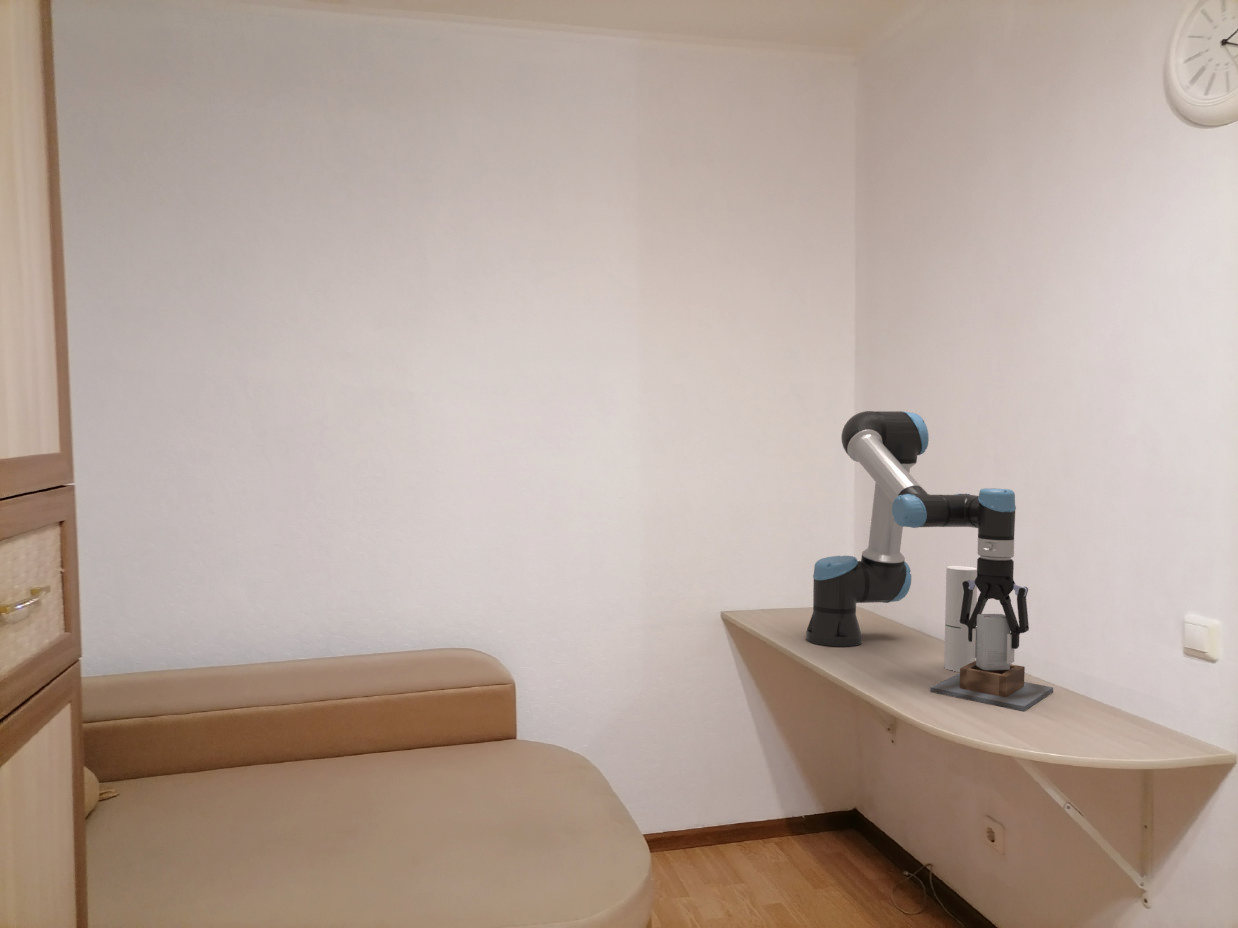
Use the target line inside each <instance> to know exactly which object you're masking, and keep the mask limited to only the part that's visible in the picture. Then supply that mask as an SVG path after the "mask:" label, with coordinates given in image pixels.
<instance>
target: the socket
mask: <svg viewBox="0 0 1238 928" xmlns="http://www.w3.org/2000/svg"><path fill="white" fill-rule="evenodd" d="M1025 670H1026V668H1025V665H1023V666H1022V665H1018V664H1013V663H1011V664H1010V670H983V669H981V668H979V667H977V666H976V660H975V661H974V662H972V663H970V664H968V665H966V666H964V667H962V668H960V672H957V674H955V675H953V676H951V677H949V678H946V679H945V680H943V681H940V682H938V683H937V684H934V685H932V686H931V687H930V689H929V691H931V692H930V693H934V692H937V693H936V694H939V693H940V695H943V694H946V695H945V696H948V695H949V696H948V697H953V696H955V698H959V699H962V700H968V699H969V701H973V702H976V703H977V702H979V703H982V704H983V703H984V704H987V705H988V704H989V705H992V706H997V707H1003V708H1006V709H1012V710H1016V711H1021V712H1025V711H1027V710H1028V709H1030V708H1031V707H1032V706H1034V705H1036V704H1038V703H1039V702H1040V701H1041V700H1043V699H1045V698H1046V697H1048V696H1049V695H1050V694H1052V693H1053V692H1054V687H1053V686H1048V685H1043V684H1038V683H1037V684H1036V683H1032V682H1028V681H1025V675H1026V674H1025Z"/></svg>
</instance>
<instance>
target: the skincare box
mask: <svg viewBox="0 0 1238 928" xmlns="http://www.w3.org/2000/svg"><path fill="white" fill-rule="evenodd" d="M976 627H977V639H976V658H975V661H976V666H977V667H979V668H981V669H983V670H1010V664H1007V634H1009V633H1011V631H1010V628H1009V625H1008V622H1007V619H1006V616H1005V613H1004V614H1003V613H982V614H978V615H977V626H976Z"/></svg>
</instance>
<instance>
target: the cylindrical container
mask: <svg viewBox="0 0 1238 928" xmlns="http://www.w3.org/2000/svg"><path fill="white" fill-rule="evenodd" d="M945 572H946V573H945V574H946V575H945V576H946V577H945V579H946V580H945V611H944V612H945V614H944V615H945V617H944V619H945V620H944V621H945V622H944V623H945V624H944V651H943V655H944V656H943V658H944V659H943V668H944V667H945V668H944V669H945V670H947V669H948V670H947V671H950V670H953V671H952V672H954V671H956V673H960V668H962V667H964V666H966V665H968V664H970V663H972V662H974V661H976V658H972V642H969V640H968V627H967V626H966V625H964V624H961V623H960V616H961V609H962V602H963V595H964V589H963V584H962V583H963V582H964V581H967V580H970V581H973V580H975V579H976V577H977V567H972V566H966V565H964V566H963V565H950V566H949V565H948V566H946V571H945ZM977 601H978V588H977V586H976V585H975V588H974V589H973V596H972V603H971V610H970V617H969V619H970V618H971V615H972V613H973V611H974V608H975V606H976V604H977Z"/></svg>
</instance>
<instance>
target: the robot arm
mask: <svg viewBox="0 0 1238 928" xmlns="http://www.w3.org/2000/svg"><path fill="white" fill-rule="evenodd" d="M929 438H930V437H929V430H928V425H927V424H926V423H925V420H924V418H923V417H922V416H921V415H919V414H917V412H910V411H909V412H908V411H902V410H901V411H899V410H897V411H894V410H892V411H890V410H889V411H888V410H887V411H885V410H883V411H881V410H879V411H873V410H865V411H862V412H858V413H855V414H854V415H852V416H851V417H850V418H849V419H848V420H847V422H846V423H845V424H844V427H843V428H842V431H841V439H840V440H841V445H842V448H843V450H844V451H845V453H846V454H847V456H848V457H849V458H850V459H851V460H852V461H854V462H857V463H859V464H860V465H861V466H862V467H863V469H864V470H865V471H866V472H867V473H868V474H869V476H870V477H871V478H872V479H873V481H874V482H875V483H874V484H875V485H874V493H873V503H872V511H871V519H870V521H871V522H870V528H869V536H868V539H869V540H868V545H867V548H866V549H864V550H863V551H862V552H861V559H860V560H859V561H858V559H857V557H855V556H853V555H833V556H826V557H822V558H820V559H817V561H816V562H815V563H814V566H813V574H812V578H813V586H812V587H813V590H812V591H813V593H812V594H813V595H812V596H813V597H812V598H813V599H812V600H813V601H812V604H813V605H812V606H813V607H812V608H813V609H812V613H811V617H810V620H809V622H808V626H807V628H806V632H805V634H806V635H805V639H806V641H808V642H809V643H813V644H815V645H821V646H827V647H843V648H844V647H854V646H858V645H862V642H863V634H862V631H861V626H860V624H859V620H858V617H857V604H862V603H863V604H865V603H866V604H867V603H870V604H871V603H884V604H885V603H886V604H889V603H893V602H899V601H902V600H903V599H904V598H905V597H906V596H907V595H908V594H909V592H910V589H911V585H912V573H911V568H910V565H909V563H908V562H906V561H905V556H904V555H903V554H902V553H901V545H902V537H903V529H904V528H913V529H917V528H975V529H977V555H978V556H980V557H978V558H976V559H977V560H976V568H977V577H976V579H975V580H973V581H970V580H967V581H964V582H963V583H962V584H963V589H964V595H963V602H962V609H961V616H960V623H961V624H964V625H966V626H967V627H968V640H969V642H972V658H975V659H976V639H977V615H978V614H983V611H984V609H985V607H986V604H987V603H988V600H990V599H991V600H993V599H994V600H996V601H999V603H1000V605H1001V607H1002V609H1003V613H1004V615H1005V616H1006V619H1007V622H1008V625H1009V628H1010V631H1011V632H1010V633H1009V634H1007V664H1013V663H1015V650H1017V649H1019V647H1020V635H1021V634H1024V633H1027V632H1029V629H1030V627H1029V615H1028V606H1027V605H1028V603H1027V596H1028V592H1029V588H1028V587H1027V586H1020V585H1018V584H1016V582H1015V581H1014V565H1015V564H1014V563H1015V562H1014V560H1013V558H1014V557H1015V530H1016V529H1015V526H1016V525H1015V524H1016V509H1017V507H1016V494H1015V492H1014V490H1012V489H1009V488H991V487H990V488H989V487H987V488H981V489H980V490H978V492H979V493H978V495H975V494H970V493H955V494H954V493H953V494H929V493H928V492H927V491H926V490H925V489H924V488H923V487H922V486H921V485H920V484H919V483H918V481H917V480H916V479H915V478H914V477H913V476H912V475H911V473H910V469H911V468H912V467H914V466H915V465H916V464H917V462H918V461H917V460H918V456H921V455H923V454H925V452H926V450H927V449H928V447H929V441H930V440H929ZM975 585H976V586H977V590H978V591H979V592H980V593H979V595H978V596H977V604H976V606H975V608H974V611H973V613H972V615H971V618H970V619H969V617H970V610H971V603H972V596H973V589H974V588H975ZM1013 590H1014V592H1015V593H1014V594H1015V596H1016V605H1017V615H1018V617H1016V613H1015V611H1014V608H1013V606H1012V600H1011V597H1010V594H1011V593H1012V592H1013ZM1017 618H1018V620H1017Z"/></svg>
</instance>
